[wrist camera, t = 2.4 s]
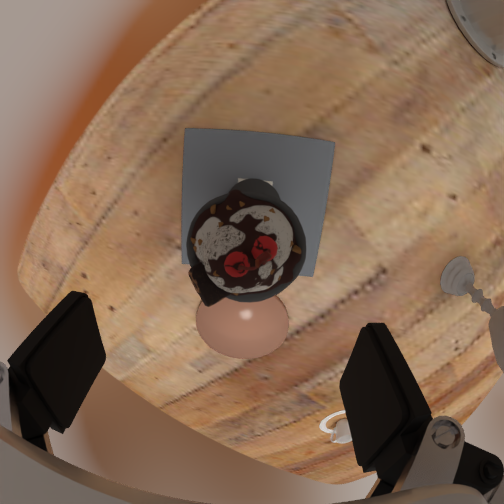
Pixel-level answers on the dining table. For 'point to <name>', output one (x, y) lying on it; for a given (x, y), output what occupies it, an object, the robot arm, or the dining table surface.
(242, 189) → the sundae
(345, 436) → the teacup and saucer
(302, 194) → the card
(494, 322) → the chalice
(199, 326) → the coaster
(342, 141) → the dining table surface
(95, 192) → the dining table surface
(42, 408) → the robot arm
